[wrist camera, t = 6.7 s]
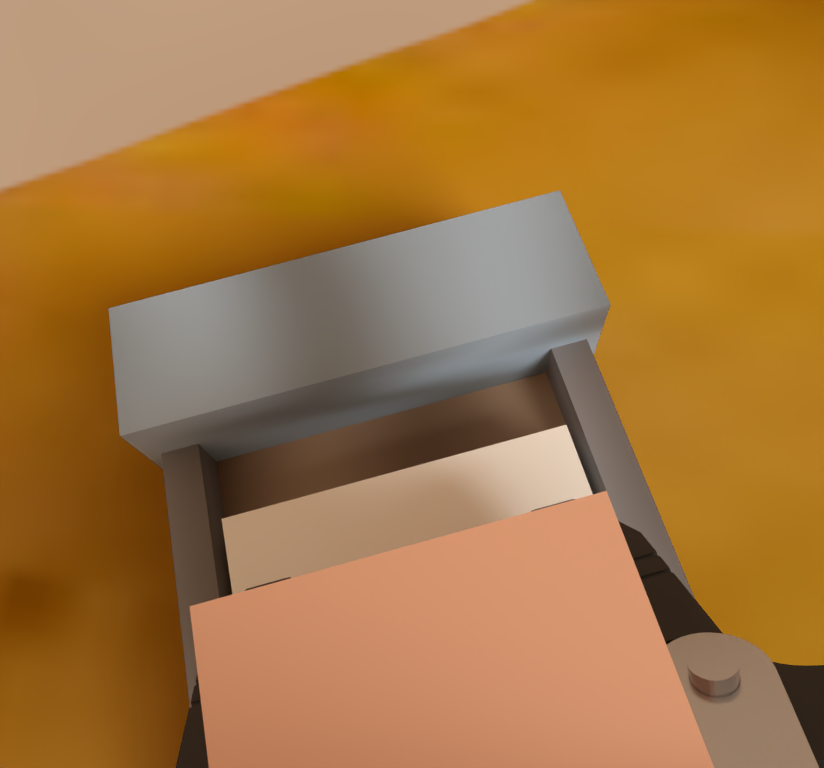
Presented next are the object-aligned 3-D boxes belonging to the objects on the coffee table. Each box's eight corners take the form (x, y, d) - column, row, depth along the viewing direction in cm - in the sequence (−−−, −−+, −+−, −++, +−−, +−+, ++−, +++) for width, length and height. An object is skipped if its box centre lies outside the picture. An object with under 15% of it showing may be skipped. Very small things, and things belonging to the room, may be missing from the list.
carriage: (558, 449, 16) (637, 204, 8) (742, 949, 12) (1216, 1370, 4) (244, 535, 15) (21, 366, 8) (329, 1074, 12) (58, 1754, 4)
